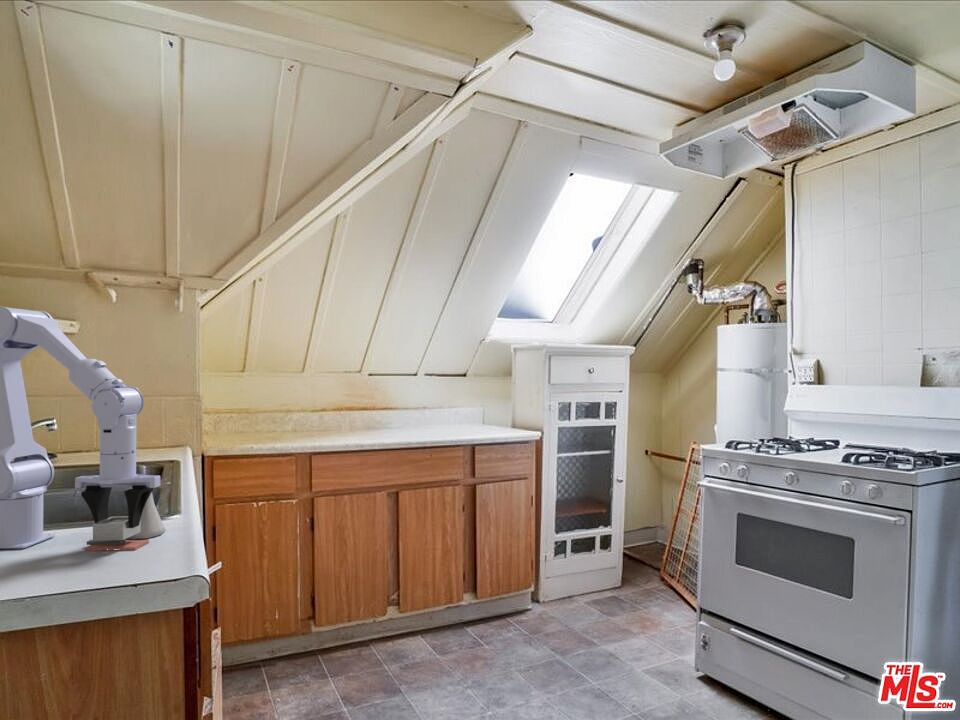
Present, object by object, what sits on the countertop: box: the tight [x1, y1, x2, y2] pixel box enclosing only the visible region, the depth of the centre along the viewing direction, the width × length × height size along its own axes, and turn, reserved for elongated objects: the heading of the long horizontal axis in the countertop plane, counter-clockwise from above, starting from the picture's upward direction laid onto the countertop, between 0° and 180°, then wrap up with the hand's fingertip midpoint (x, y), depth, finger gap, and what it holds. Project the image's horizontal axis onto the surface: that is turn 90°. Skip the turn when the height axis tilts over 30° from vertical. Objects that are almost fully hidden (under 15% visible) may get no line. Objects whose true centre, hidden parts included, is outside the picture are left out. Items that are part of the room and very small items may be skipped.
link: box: [92, 515, 141, 541], centre depth 107 cm, size 5×5×3 cm
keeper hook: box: [84, 520, 150, 551], centre depth 107 cm, size 10×4×5 cm, turn 90°
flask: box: [126, 492, 166, 540], centre depth 114 cm, size 7×7×10 cm
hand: (117, 526), depth 107 cm, fingers closed on link, 5 cm apart
